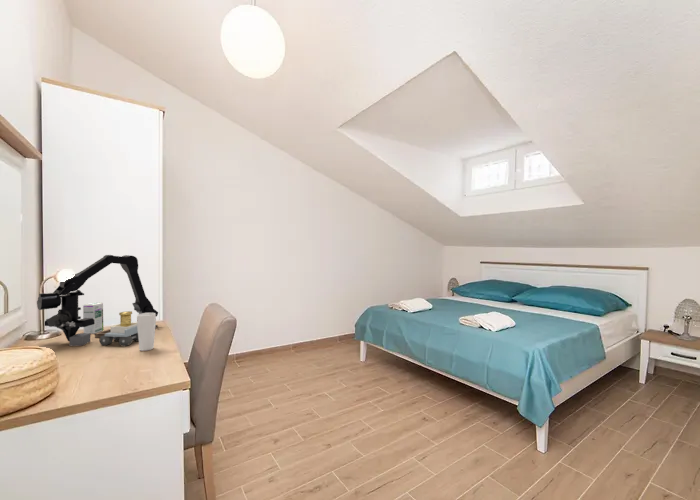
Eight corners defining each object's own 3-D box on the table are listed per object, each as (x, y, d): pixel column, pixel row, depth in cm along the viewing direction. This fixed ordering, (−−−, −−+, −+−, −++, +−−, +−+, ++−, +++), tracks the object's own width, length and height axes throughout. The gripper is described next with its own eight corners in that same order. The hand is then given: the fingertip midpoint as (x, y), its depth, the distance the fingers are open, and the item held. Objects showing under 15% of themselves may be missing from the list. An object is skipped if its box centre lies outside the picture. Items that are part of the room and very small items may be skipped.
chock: (77, 341, 146) (77, 333, 146) (90, 341, 147) (90, 333, 147) (69, 346, 140) (69, 337, 140) (82, 345, 141) (82, 336, 141)
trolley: (116, 338, 151) (116, 323, 151) (144, 339, 150) (144, 324, 150) (98, 345, 141) (98, 329, 141) (127, 346, 140) (127, 330, 140)
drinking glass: (133, 350, 136) (133, 314, 135) (149, 345, 142) (149, 311, 141) (142, 352, 133) (142, 316, 132) (159, 348, 139) (159, 313, 138)
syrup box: (94, 333, 159) (94, 304, 159) (82, 333, 159) (82, 304, 159) (103, 330, 165) (103, 302, 165) (92, 330, 165) (92, 302, 165)
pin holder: (108, 333, 161) (108, 329, 160) (124, 333, 160) (124, 329, 160) (95, 337, 153) (95, 333, 152) (111, 338, 152) (111, 334, 152)
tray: (124, 328, 151) (124, 322, 151) (140, 328, 150) (140, 322, 150) (110, 332, 143) (110, 326, 143) (127, 333, 142) (127, 327, 142)
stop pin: (124, 328, 149) (124, 311, 149) (134, 328, 149) (134, 311, 149) (116, 330, 144) (116, 313, 144) (126, 331, 144) (126, 313, 144)
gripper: (31, 309, 136) (31, 346, 136) (72, 310, 135) (72, 347, 135) (57, 304, 147) (57, 338, 148) (95, 305, 146) (95, 339, 146)
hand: (69, 341), depth 144 cm, fingers closed
